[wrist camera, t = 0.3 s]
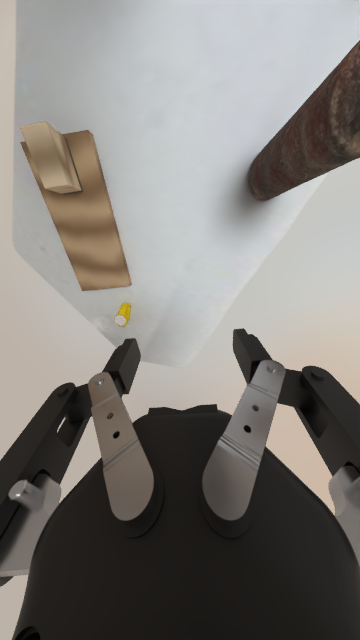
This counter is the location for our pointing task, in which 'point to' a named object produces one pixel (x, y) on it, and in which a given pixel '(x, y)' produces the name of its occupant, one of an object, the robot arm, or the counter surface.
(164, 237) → the counter surface
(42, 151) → the block
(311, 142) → the rusty brown cylinder
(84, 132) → the board
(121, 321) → the yellow wavy ring
